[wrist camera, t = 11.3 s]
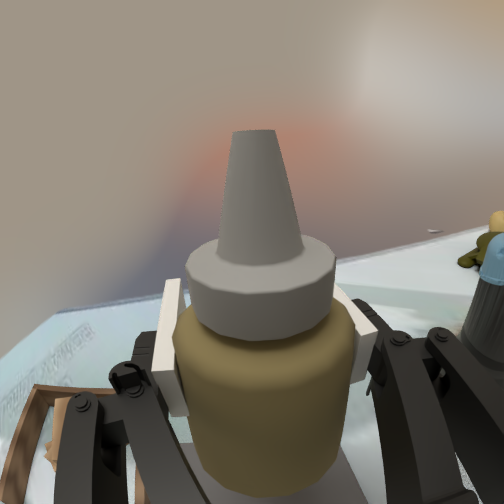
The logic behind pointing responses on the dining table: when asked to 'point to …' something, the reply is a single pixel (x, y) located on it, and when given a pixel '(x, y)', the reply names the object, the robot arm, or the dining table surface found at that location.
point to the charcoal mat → (306, 500)
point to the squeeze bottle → (263, 336)
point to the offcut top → (58, 425)
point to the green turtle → (478, 250)
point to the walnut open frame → (27, 438)
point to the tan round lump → (497, 222)
